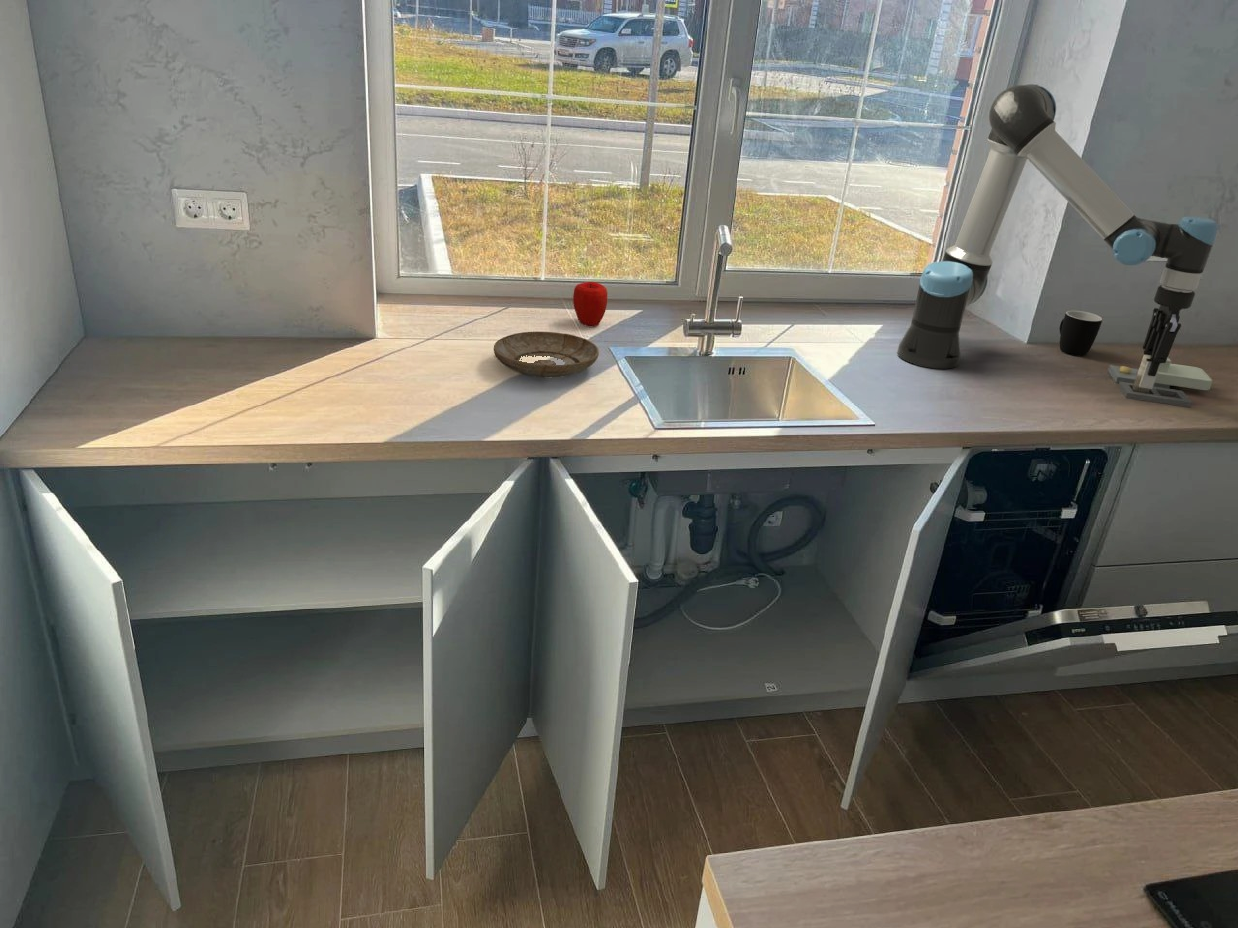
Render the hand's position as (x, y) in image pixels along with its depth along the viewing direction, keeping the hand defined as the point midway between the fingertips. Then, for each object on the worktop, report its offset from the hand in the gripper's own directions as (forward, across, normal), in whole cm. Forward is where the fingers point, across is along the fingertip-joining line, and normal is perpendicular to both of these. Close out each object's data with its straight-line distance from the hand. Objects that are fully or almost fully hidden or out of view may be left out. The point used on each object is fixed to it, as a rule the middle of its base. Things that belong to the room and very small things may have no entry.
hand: (1143, 384), depth 217 cm
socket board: (+3, 0, -3) cm, 4 cm away
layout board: (+3, +11, -2) cm, 11 cm away
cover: (+1, +11, -10) cm, 15 cm away
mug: (+3, +29, +11) cm, 31 cm away
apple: (+2, -11, +134) cm, 135 cm away
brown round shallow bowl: (+3, -45, +134) cm, 141 cm away
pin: (+2, 0, 0) cm, 2 cm away
